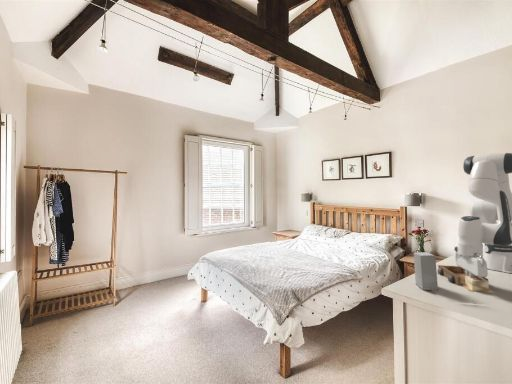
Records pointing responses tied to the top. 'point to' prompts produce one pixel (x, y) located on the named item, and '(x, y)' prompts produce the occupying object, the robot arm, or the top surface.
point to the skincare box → (425, 271)
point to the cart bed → (454, 274)
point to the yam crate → (477, 283)
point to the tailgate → (476, 290)
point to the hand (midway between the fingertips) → (470, 280)
